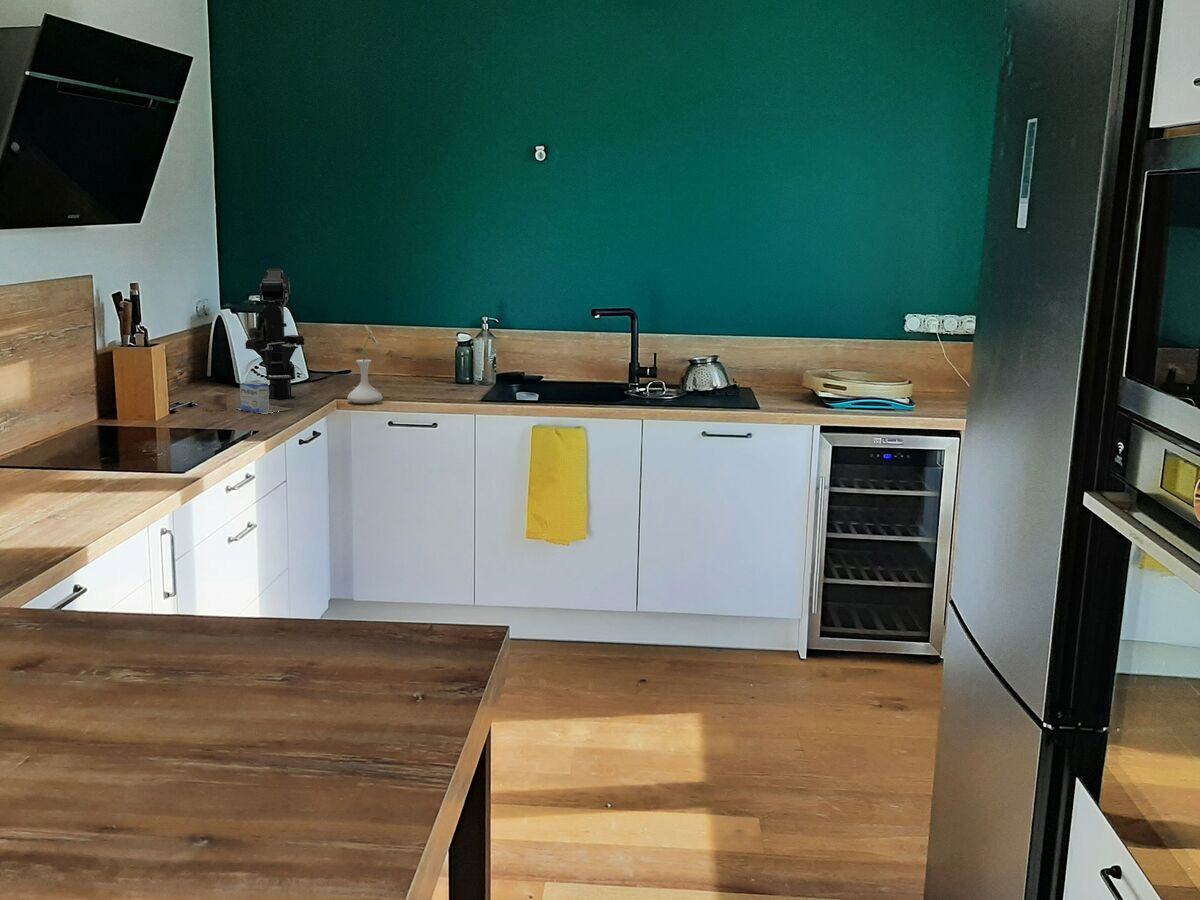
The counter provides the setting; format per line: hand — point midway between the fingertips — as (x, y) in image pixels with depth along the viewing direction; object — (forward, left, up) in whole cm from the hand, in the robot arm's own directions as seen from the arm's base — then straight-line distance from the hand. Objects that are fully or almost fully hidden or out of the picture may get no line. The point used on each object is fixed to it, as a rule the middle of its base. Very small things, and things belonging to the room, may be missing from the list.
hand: (276, 369), depth 368 cm
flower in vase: (-24, +14, -12) cm, 30 cm away
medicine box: (+9, 0, -12) cm, 15 cm away
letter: (+5, 0, -12) cm, 13 cm away
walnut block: (+15, -12, -12) cm, 23 cm away
